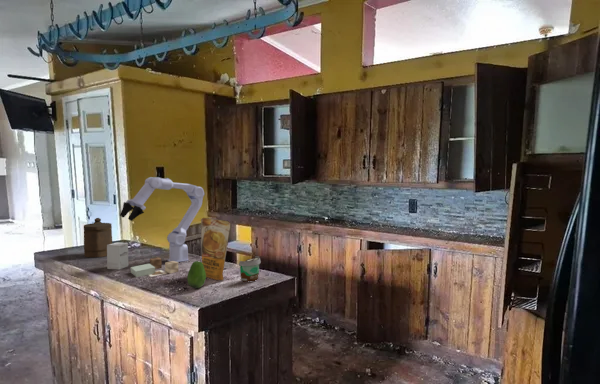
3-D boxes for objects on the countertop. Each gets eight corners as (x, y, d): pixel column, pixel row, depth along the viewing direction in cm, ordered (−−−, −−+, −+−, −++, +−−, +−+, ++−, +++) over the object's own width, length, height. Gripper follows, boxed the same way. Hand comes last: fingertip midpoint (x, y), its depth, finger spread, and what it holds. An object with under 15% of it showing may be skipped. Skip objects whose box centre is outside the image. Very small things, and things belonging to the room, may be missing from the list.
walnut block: (158, 266, 196) (158, 257, 195) (161, 268, 192) (161, 259, 192) (149, 268, 193) (149, 258, 192) (152, 270, 189) (152, 260, 189)
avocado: (204, 290, 159) (204, 263, 158) (185, 290, 158) (185, 263, 157) (207, 284, 167) (207, 258, 166) (189, 284, 166) (189, 258, 165)
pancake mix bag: (206, 271, 187) (206, 216, 185) (232, 278, 175) (232, 220, 173) (195, 274, 182) (195, 218, 180) (221, 282, 170) (220, 222, 168)
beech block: (173, 270, 189) (172, 260, 188) (178, 272, 186) (178, 262, 186) (165, 272, 185) (165, 262, 185) (170, 274, 183) (170, 264, 182)
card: (161, 270, 188) (161, 269, 188) (167, 274, 182) (167, 273, 182) (145, 273, 183) (145, 272, 183) (150, 277, 177) (150, 276, 177)
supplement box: (119, 270, 189) (119, 245, 188) (106, 269, 190) (106, 244, 189) (129, 266, 196) (128, 242, 195) (116, 265, 197) (116, 241, 196)
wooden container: (99, 251, 230) (98, 215, 228) (118, 253, 225) (117, 217, 223) (78, 256, 216) (76, 219, 214) (97, 258, 211) (96, 220, 209)
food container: (249, 284, 167) (249, 263, 166) (239, 282, 170) (238, 261, 169) (265, 277, 177) (266, 257, 177) (255, 275, 181) (255, 255, 180)
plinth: (149, 269, 189) (149, 263, 189) (155, 273, 182) (155, 267, 182) (131, 273, 183) (130, 267, 183) (136, 277, 176) (135, 271, 176)
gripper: (129, 189, 193) (112, 210, 188) (145, 194, 185) (127, 217, 180) (138, 197, 198) (122, 218, 193) (154, 202, 190) (137, 224, 185)
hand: (125, 218), depth 186 cm, fingers open, 7 cm apart
